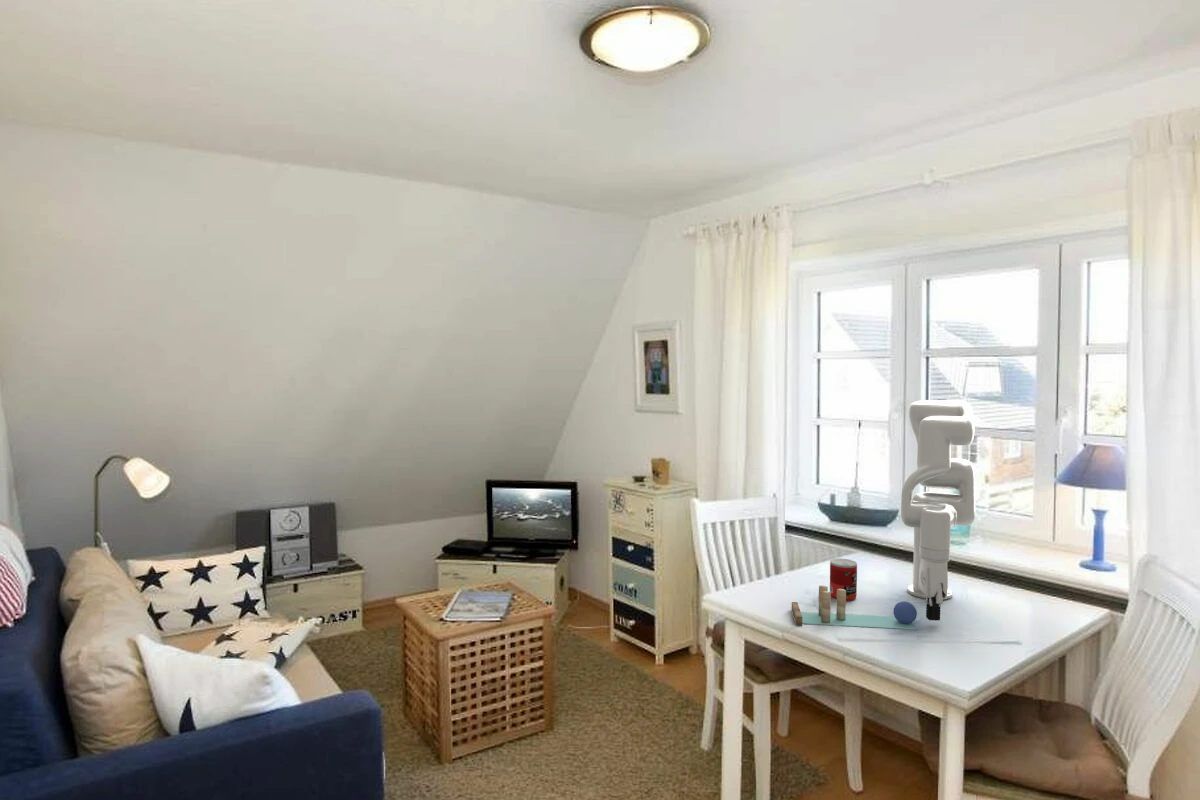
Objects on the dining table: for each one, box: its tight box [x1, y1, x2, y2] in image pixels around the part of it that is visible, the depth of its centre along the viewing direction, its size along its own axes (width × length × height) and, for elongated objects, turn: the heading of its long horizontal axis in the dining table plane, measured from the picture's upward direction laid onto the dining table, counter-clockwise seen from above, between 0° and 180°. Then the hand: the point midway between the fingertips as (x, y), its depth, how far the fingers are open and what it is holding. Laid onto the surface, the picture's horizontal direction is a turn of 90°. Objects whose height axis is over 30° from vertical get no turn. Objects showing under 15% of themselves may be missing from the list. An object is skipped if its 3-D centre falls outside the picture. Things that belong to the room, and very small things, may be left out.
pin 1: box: [818, 584, 829, 616], centre depth 204 cm, size 2×2×8 cm
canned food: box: [829, 558, 858, 602], centre depth 220 cm, size 8×8×11 cm
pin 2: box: [821, 590, 832, 623], centre depth 199 cm, size 2×2×8 cm
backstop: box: [791, 601, 803, 627], centre depth 203 cm, size 12×2×2 cm, turn 171°
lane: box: [801, 611, 918, 631], centre depth 201 cm, size 9×30×1 cm, turn 81°
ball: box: [892, 600, 918, 624], centre depth 198 cm, size 6×6×6 cm
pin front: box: [835, 589, 847, 621], centre depth 201 cm, size 2×2×8 cm
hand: (933, 619), depth 197 cm, fingers closed
